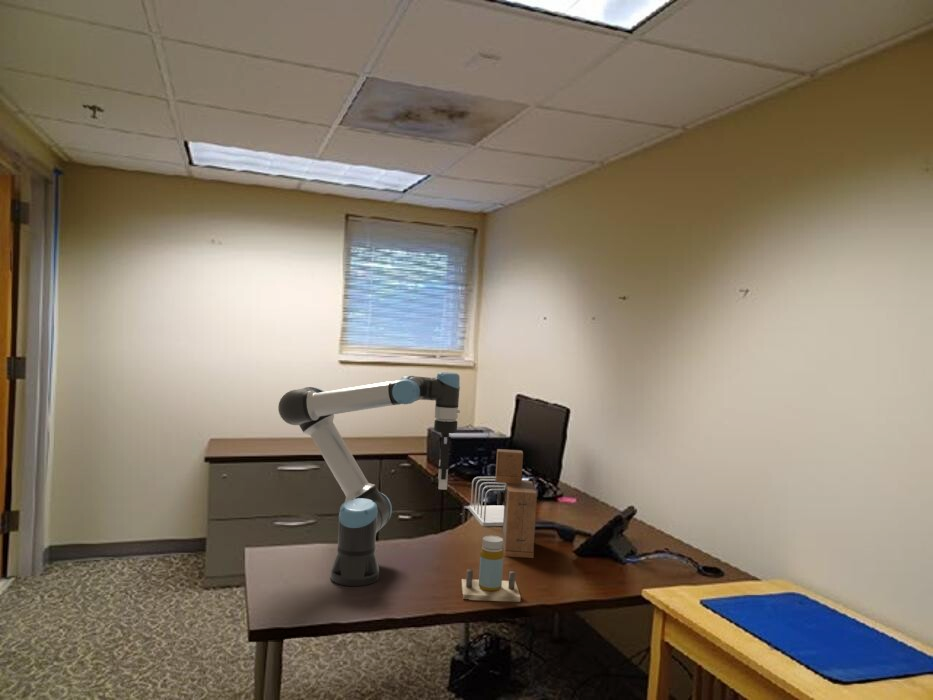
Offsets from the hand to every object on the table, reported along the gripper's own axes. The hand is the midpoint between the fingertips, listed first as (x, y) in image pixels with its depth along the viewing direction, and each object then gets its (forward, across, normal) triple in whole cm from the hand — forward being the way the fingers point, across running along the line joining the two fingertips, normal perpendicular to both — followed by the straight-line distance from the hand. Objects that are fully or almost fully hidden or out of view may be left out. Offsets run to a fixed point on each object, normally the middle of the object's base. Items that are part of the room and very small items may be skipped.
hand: (442, 484), depth 208 cm
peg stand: (+29, -16, -16) cm, 37 cm away
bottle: (+27, -16, -16) cm, 35 cm away
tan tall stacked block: (+29, +27, -29) cm, 49 cm away
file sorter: (+29, +65, -25) cm, 76 cm away
